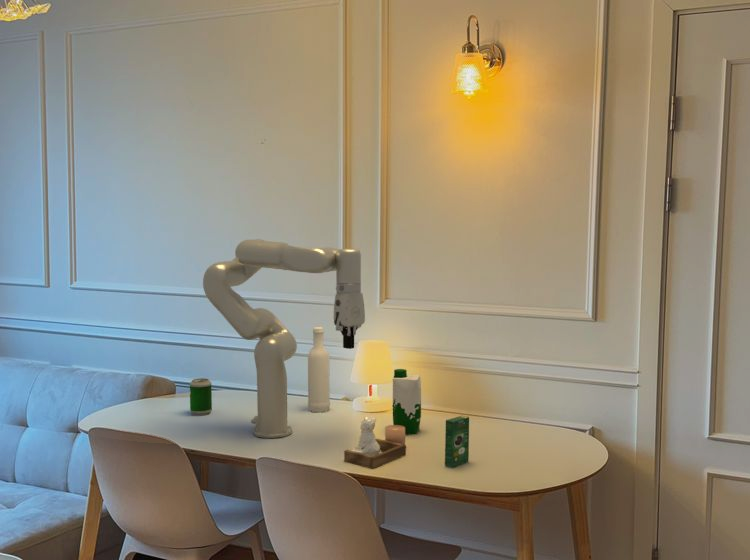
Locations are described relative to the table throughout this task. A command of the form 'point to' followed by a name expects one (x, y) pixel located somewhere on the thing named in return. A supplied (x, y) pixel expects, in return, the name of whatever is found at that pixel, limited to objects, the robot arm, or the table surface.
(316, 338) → the bottle
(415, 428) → the milk carton
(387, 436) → the tan rounded cylinder
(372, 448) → the white creature statuette
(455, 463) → the coffee box
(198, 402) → the soda can
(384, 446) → the display bay
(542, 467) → the table surface
